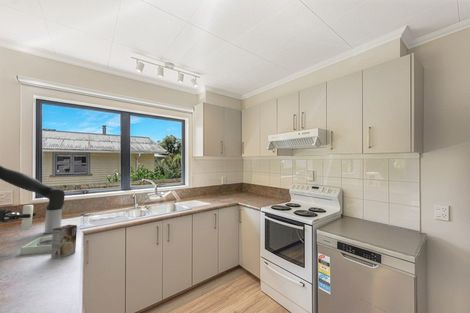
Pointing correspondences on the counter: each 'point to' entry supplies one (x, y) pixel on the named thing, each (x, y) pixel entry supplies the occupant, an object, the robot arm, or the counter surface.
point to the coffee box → (63, 241)
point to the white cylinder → (27, 221)
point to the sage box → (38, 246)
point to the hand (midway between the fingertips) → (32, 215)
